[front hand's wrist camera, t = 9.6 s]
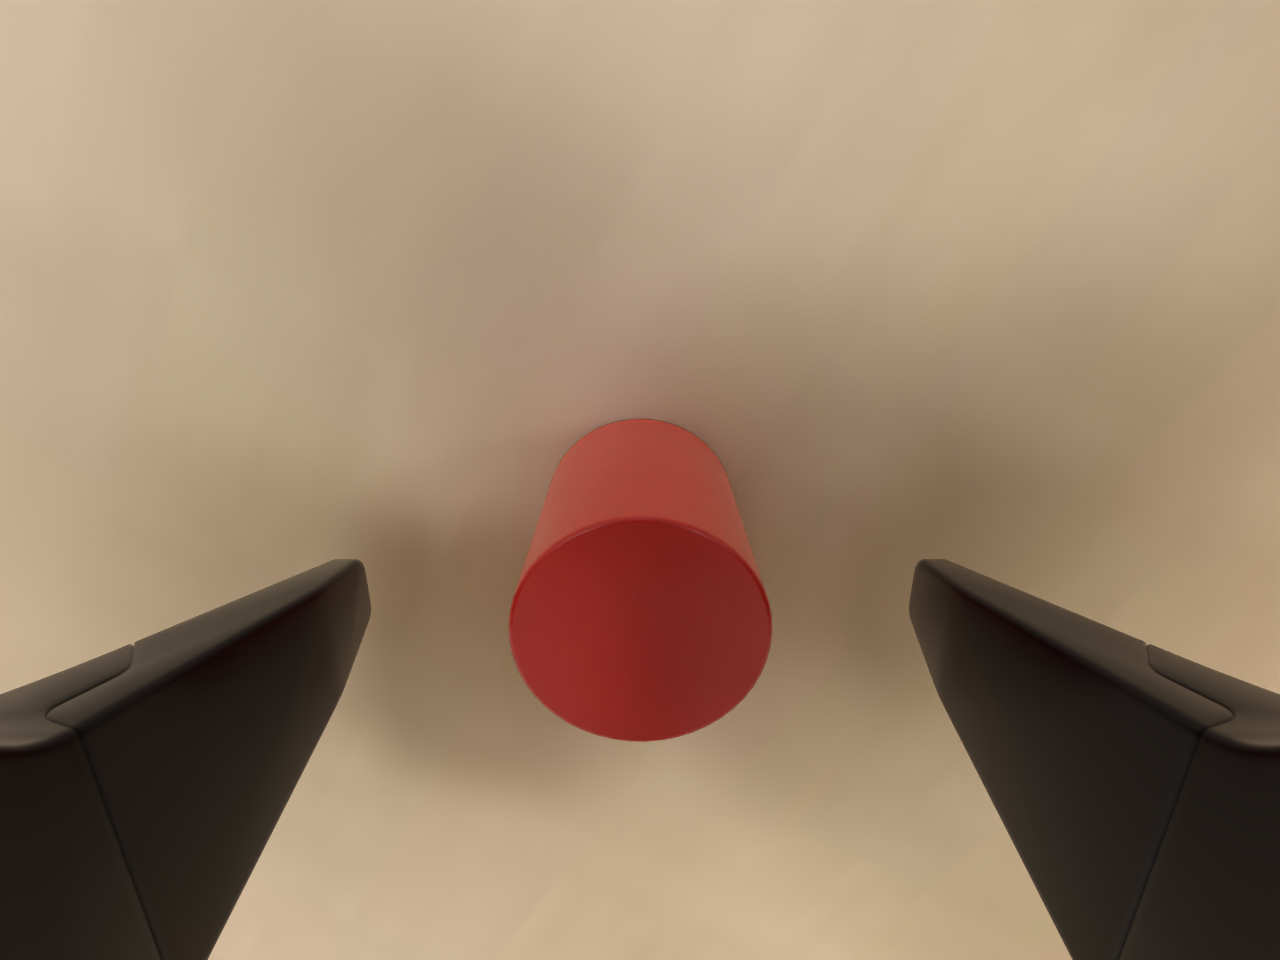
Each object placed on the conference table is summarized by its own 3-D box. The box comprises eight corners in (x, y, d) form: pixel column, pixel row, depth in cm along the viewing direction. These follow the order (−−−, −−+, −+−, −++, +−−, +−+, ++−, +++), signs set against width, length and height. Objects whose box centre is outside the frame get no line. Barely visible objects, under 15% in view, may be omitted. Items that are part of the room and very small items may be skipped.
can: (544, 579, 15) (504, 734, 10) (552, 410, 13) (510, 506, 9) (719, 592, 15) (752, 751, 10) (744, 426, 13) (794, 529, 9)
